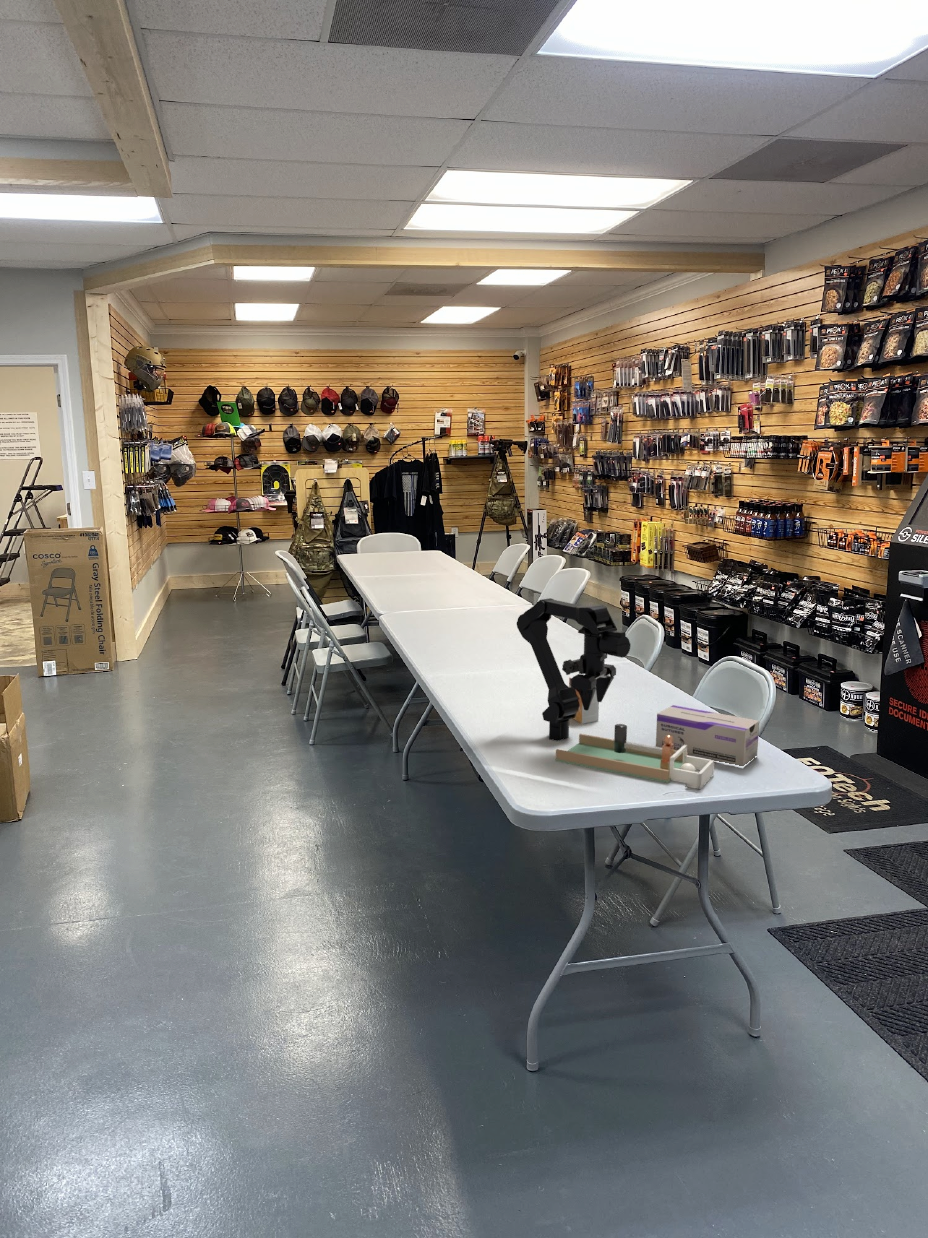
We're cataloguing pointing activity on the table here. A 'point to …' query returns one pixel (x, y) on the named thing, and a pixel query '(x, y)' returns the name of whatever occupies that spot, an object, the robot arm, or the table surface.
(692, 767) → the ball
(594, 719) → the small box
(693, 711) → the surgical sutures box
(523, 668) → the table surface
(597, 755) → the pitch
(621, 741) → the rod
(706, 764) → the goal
